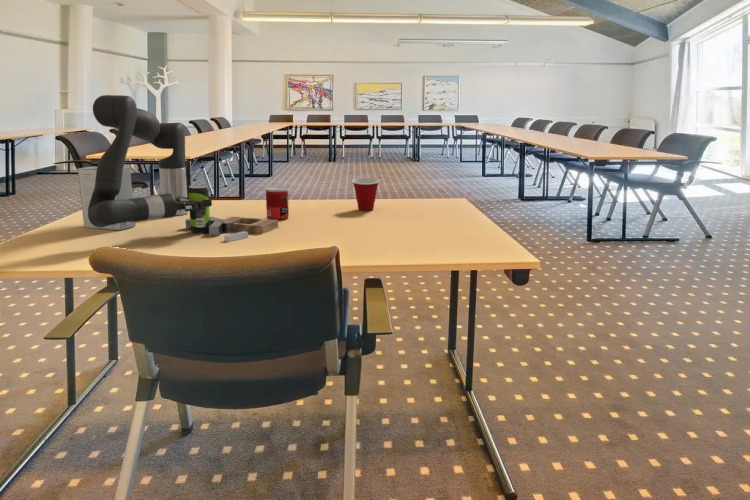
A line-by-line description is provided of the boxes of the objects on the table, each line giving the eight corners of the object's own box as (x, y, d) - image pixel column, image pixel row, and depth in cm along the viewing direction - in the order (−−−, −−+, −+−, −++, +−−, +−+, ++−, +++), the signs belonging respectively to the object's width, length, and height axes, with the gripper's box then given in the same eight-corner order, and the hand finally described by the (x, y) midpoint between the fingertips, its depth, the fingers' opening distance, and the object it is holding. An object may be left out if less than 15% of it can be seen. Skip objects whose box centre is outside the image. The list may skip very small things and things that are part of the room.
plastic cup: (348, 211, 243) (348, 180, 240) (355, 206, 253) (355, 177, 250) (376, 213, 241) (376, 181, 238) (382, 208, 251) (382, 178, 248)
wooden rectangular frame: (214, 229, 209) (213, 222, 209) (231, 223, 219) (231, 216, 219) (262, 233, 204) (262, 226, 203) (278, 227, 214) (277, 220, 213)
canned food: (284, 221, 224) (283, 190, 222) (263, 220, 226) (262, 189, 223) (291, 217, 231) (291, 187, 229) (271, 216, 233) (270, 186, 230)
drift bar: (243, 237, 200) (243, 231, 200) (248, 238, 199) (248, 232, 199) (224, 242, 194) (224, 235, 193) (228, 242, 193) (228, 236, 192)
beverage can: (214, 231, 207) (212, 185, 204) (202, 234, 202) (199, 188, 198) (199, 229, 210) (197, 184, 206) (186, 232, 204) (183, 186, 201)
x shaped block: (213, 237, 199) (212, 227, 198) (182, 228, 211) (182, 219, 210) (239, 232, 206) (239, 223, 205) (208, 224, 218) (208, 215, 217)
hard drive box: (136, 226, 213) (131, 167, 208) (120, 231, 206) (115, 170, 201) (99, 223, 218) (93, 165, 213) (82, 227, 211) (76, 167, 206)
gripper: (168, 197, 187) (215, 192, 199) (145, 192, 197) (191, 187, 208) (170, 222, 189) (216, 215, 201) (147, 216, 199) (192, 209, 210)
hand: (203, 201), depth 205 cm, fingers open, 8 cm apart
